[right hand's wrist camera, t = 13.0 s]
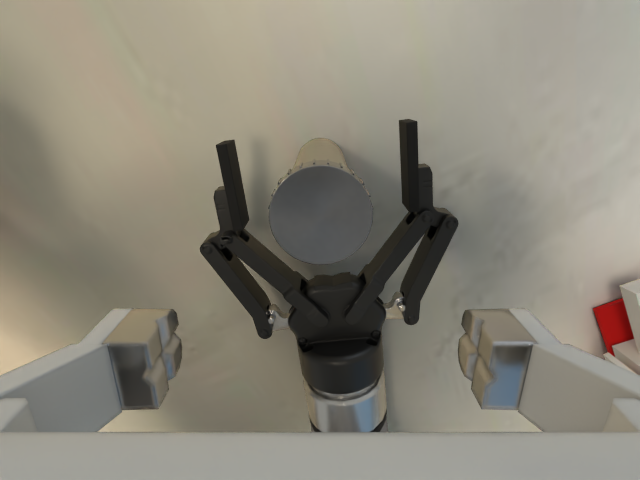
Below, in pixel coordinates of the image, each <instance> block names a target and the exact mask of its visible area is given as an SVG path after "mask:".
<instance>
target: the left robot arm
mask: <svg viewBox="0 0 640 480" xmlns="http://www.w3.org/2000/svg"><path fill="white" fill-rule="evenodd" d="M399 133H400V157H401V181H402V203H403V204H404V206H405V207H406V208H407V210H408V211H409V212H408V213H407V215H406V216H405V217H404V219H403V220H402V221H401V223H400V224H399V225H398V227H397V228H396V229H395V231H394V232H393V233H392V235H391V236H390V237H389V238H388V240H387V241H386V242H385V244H384V245H383V246H382V248H381V249H380V250H379V252H378V253H377V254H376V256H375V257H374V258H373V260H372V261H371V262H370V263H369V264H367V265H366V266H365V267H364V268H363V270H362V271H361V272H360V273H359V275H358V276H355V275H352V274H350V272H345V273H340V274H337V275H334V276H329V275H316V276H314V278H313V279H311V280H309V281H308V280H307V279H305V278H304V277H303V276H302V275H301V274H300V273H298V272H296V271H293V270H292V269H291V268H289V267H288V266H287V265H286V264H285V263H284V262H282V261H281V260H280V259H279V258H278V257H277V256H275V255H274V254H273V253H272V252H271V251H270V250H268V249H267V248H266V247H265V246H264V245H263V244H261V243H260V242H259V241H258V240H257V239H256V238H254V237H253V236H252V235H251V234H250V233H249V232H247V231H246V230H245V229H244V228H245V226H246V224H247V223H248V221H249V216H248V211H247V205H246V200H245V195H244V189H243V184H242V178H241V173H240V168H239V162H238V157H237V152H236V146H235V141H234V140H227V141H223V142H221V143H219V144H217V145H216V148H217V153H218V158H219V163H220V168H221V173H222V177H223V182H224V186H222V187H219V188H218V189H216V190H215V193H214V201H215V206H216V210H217V215H218V220H219V225H220V230H219V231H217V232H215V233H211V234H210V235H209V236H208V237H207V239H206V240H205V241H204V242H203V244H202V245H201V247H200V252H201V253H202V255H203V256H204V257H205V259H206V260H207V261H208V262H209V264H210V265H211V266H212V267H213V269H214V270H215V271H216V272H217V274H218V275H219V276H220V277H221V279H222V280H223V281H224V282H225V284H226V285H227V286H228V287H229V289H230V290H231V291H232V292H233V294H234V295H235V296H236V297H237V299H238V300H239V301H240V302H241V304H242V305H243V306H244V307H245V309H246V310H247V311H248V312H249V314H250V315H251V316H252V317H253V320H254V323H255V326H256V329H257V333H258V335H259V336H260V337H261V338H263V339H267V338H269V337H271V335H272V331H277V330H282V329H287V328H290V329H291V330H292V331H293V333H294V334H295V336H296V339H297V344H298V351H299V357H300V363H301V370H302V374H303V377H304V380H303V383H304V389H305V394H306V400H307V406H308V411H309V418H310V422H311V429H312V432H388V425H387V416H386V415H387V410H386V406H387V402H386V389H385V377H384V370H383V366H384V361H383V347H382V332H381V328H382V325H383V323H384V321H385V319H404V321H405V322H406V323H407V324H408V325H414V324H416V323H417V322H418V320H419V310H420V301H421V299H422V297H423V295H424V293H425V291H426V289H427V287H428V285H429V283H430V281H431V279H432V277H433V275H434V273H435V271H436V269H437V267H438V265H439V263H440V261H441V259H442V257H443V255H444V253H445V251H446V249H447V247H448V245H449V243H450V241H451V239H452V237H453V235H454V233H455V231H456V229H457V227H458V220H457V219H456V218H455V217H454V216H453V215H452V214H451V213H450V212H449V211H448V210H447V209H445V208H436V207H433V187H432V171H431V169H430V167H429V166H428V165H426V164H418V133H417V121H414V120H410V119H405V120H399ZM424 233H425V234H424ZM423 234H424V236H423ZM422 236H423V238H422V241H421V243H420V245H419V247H418V249H417V251H416V253H415V255H414V258H413V260H412V262H411V264H410V266H409V268H408V270H407V272H406V274H405V277H404V279H403V281H402V284H401V288H400V292H396V293H395V294H394V295H393V297H392V300H391V301H390V302H389V303H386V304H384V303H383V301H382V300H381V299H380V298H379V297H378V295H379V294H380V293H381V292H382V290H383V288H384V285H385V283H386V281H387V280H388V279H389V277H390V276H391V275H392V274H393V272H394V271H395V270H396V269H397V267H398V266H399V265H400V264H401V262H402V261H403V260H404V258H405V257H406V256H407V255H408V253H409V252H410V251H411V250H412V248H413V247H414V246H415V245H416V243H417V242H418V241H419V239H420V238H421V237H422ZM237 256H238V257H239V258H240V259H241V260H242V261H244V262H245V263H246V264H247V265H248V266H250V267H251V268H252V269H253V270H254V271H256V272H257V273H258V274H259V275H260V276H262V277H263V278H264V279H265V280H266V281H268V282H269V283H270V284H271V285H272V286H274V287H275V288H276V289H277V290H279V291H280V292H281V293H282V294H283V296H284V298H285V299H286V300H287V301H288V302H289V303H290V304H291V305H292V307H291V309H290V311H289V313H283V312H282V311H280V309H279V308H278V307H277V305H276V304H272V305H271V303H270V300H269V298H268V297H267V295H266V294H265V292H264V291H263V290H262V288H261V287H260V286H259V284H258V283H257V282H256V280H255V279H254V278H253V277H252V275H251V274H250V273H249V271H248V270H247V269H246V267H245V266H244V265H243V264H242V262H241V261H240V260H239V258H238V257H237Z"/></svg>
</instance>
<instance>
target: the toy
mask: <svg viewBox="0 0 640 480" xmlns="http://www.w3.org/2000/svg"><path fill="white" fill-rule="evenodd" d="M620 289H621V293H622V297H623V298H621V299H618V300H615V301H612V302H610V303H607V304H604V305H601V306H598V307H596V308H593V311H594V313H595V316H596V319H597V322H598V325H599V328H600V331H601V334H602V337H603V339H604V342H605V345H606V348H607V351H608V352H607V353H605V354H603V355H604V358H605V360H606V361H608V362H610V363H612V364H615V365H617V366H619V367H621V368H624V369H626V370H628V371H630V372H633V373H635V374H637V375H639V376H640V279H637V280H634V281H632V282H629V283H626V284H623V285H620Z"/></svg>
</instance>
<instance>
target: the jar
mask: <svg viewBox="0 0 640 480" xmlns="http://www.w3.org/2000/svg"><path fill="white" fill-rule="evenodd" d="M313 159H315V160H327V159H329V161H332V162H336V163H339V164H340V163H342V165H343V166H345V167H347V164H346V162H345V159H344V156H343V153H342V151H341V149H340V148H339V147H338V145H337V144H335V143H334V142H333V141H331V140H328V139H324V138H317V139H313V140H311V141H309V142H307V143H306V144H305V145H304V146H303V147H302V148H301V150H300V152H299V155H298V157H297V160H296V163H295V165H294V168H295V167H296V166H298V165H300V163H301V162H302V163H306V162H309V161H313ZM347 168H348V167H347Z"/></svg>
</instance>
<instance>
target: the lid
mask: <svg viewBox="0 0 640 480" xmlns="http://www.w3.org/2000/svg"><path fill="white" fill-rule="evenodd" d="M271 196H273V197H272V200H271V203H270V205H269V222H270V227H271V230H272V233H273V235H274V237H275V239H276V241H277V242H278V244H279V245H280V246H281V247H282V248H283V249H284V250H285V251H286V252H287V253H288V254H289V255H291V256H293V257H294V258H296V259H298V260H300V261H303V262H306V263H310V264H318V265H323V264H331V263H335V262H339V261H341V260H344V259H346V258H347V257H349V256H351V255H352V254H353V253H355V252H356V251H357V250H358V249H359V248H360V247H361V246H362V244H363V243H364V242H365V240H366V238H367V236H368V234H369V232H370V229H371V225H372V218H373V211H372V210H373V207H372V204H371V201H370V198H369V197H370V194H369V192H368V190H366V189H365V187H364V183H363V181H362V179H359V178H358V177H357V175H356V174H355V173H354V171H353V170H352V169H351V170H350V169H348V168H347V167H345V166H343V165H342V163H340V164H339V163H336V162H332V161H329V159H327V160H315V159H313V161H309V162H306V163H302V162H301V163H300V165H298V166H296V167H295V168H293V169H292V170H291V169H289V171H288V173H287V174H286V175H285V176H284V177H283V178H280V180H279V182H278V186H277V188H276V190H275V189H274V191H273V193H272V195H271Z"/></svg>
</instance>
